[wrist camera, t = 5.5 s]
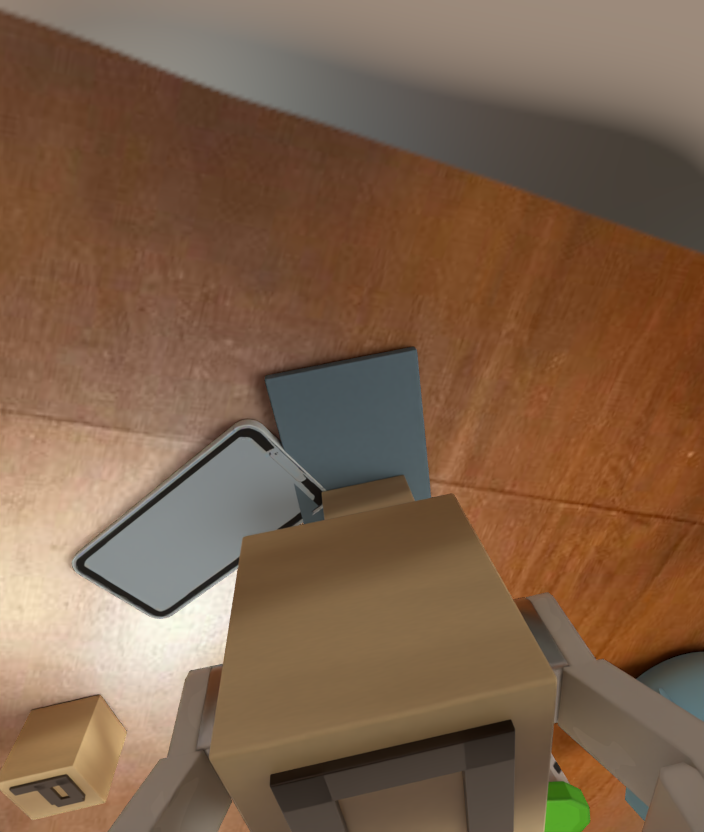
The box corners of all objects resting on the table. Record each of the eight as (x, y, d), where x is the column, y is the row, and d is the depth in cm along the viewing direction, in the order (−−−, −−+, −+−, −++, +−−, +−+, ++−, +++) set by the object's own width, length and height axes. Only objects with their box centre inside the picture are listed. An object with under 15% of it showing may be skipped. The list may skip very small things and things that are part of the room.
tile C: (241, 535, 10) (204, 773, 6) (454, 491, 10) (565, 689, 6) (290, 671, 12) (288, 912, 8) (463, 632, 12) (549, 849, 8)
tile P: (30, 710, 31) (-9, 787, 27) (100, 694, 32) (71, 768, 27) (62, 747, 34) (30, 823, 29) (127, 732, 34) (104, 805, 30)
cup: (534, 655, 36) (677, 920, 23) (476, 709, 39) (575, 977, 25) (462, 630, 34) (576, 912, 20) (406, 690, 36) (474, 977, 23)
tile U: (321, 491, 25) (327, 547, 21) (403, 474, 26) (426, 525, 22) (336, 553, 28) (344, 615, 24) (412, 537, 28) (433, 595, 24)
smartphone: (62, 565, 26) (247, 416, 23) (70, 553, 27) (249, 408, 24) (161, 623, 29) (336, 499, 26) (165, 611, 30) (334, 490, 27)
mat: (264, 375, 23) (264, 379, 22) (414, 346, 23) (417, 349, 22) (333, 627, 32) (333, 635, 31) (439, 604, 32) (441, 611, 31)
